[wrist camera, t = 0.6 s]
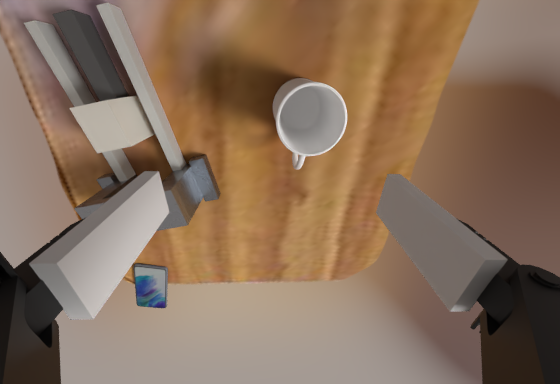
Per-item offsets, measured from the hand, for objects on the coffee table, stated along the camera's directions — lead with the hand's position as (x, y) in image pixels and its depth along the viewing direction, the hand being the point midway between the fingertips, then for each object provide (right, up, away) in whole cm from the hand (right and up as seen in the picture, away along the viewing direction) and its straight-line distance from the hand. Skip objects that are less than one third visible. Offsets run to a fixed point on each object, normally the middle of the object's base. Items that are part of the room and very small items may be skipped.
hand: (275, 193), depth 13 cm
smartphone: (-31, -23, +41) cm, 56 cm away
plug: (-24, +16, +19) cm, 35 cm away
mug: (+3, +12, +23) cm, 26 cm away
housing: (-21, +1, +27) cm, 35 cm away
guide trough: (-24, +13, +21) cm, 34 cm away
